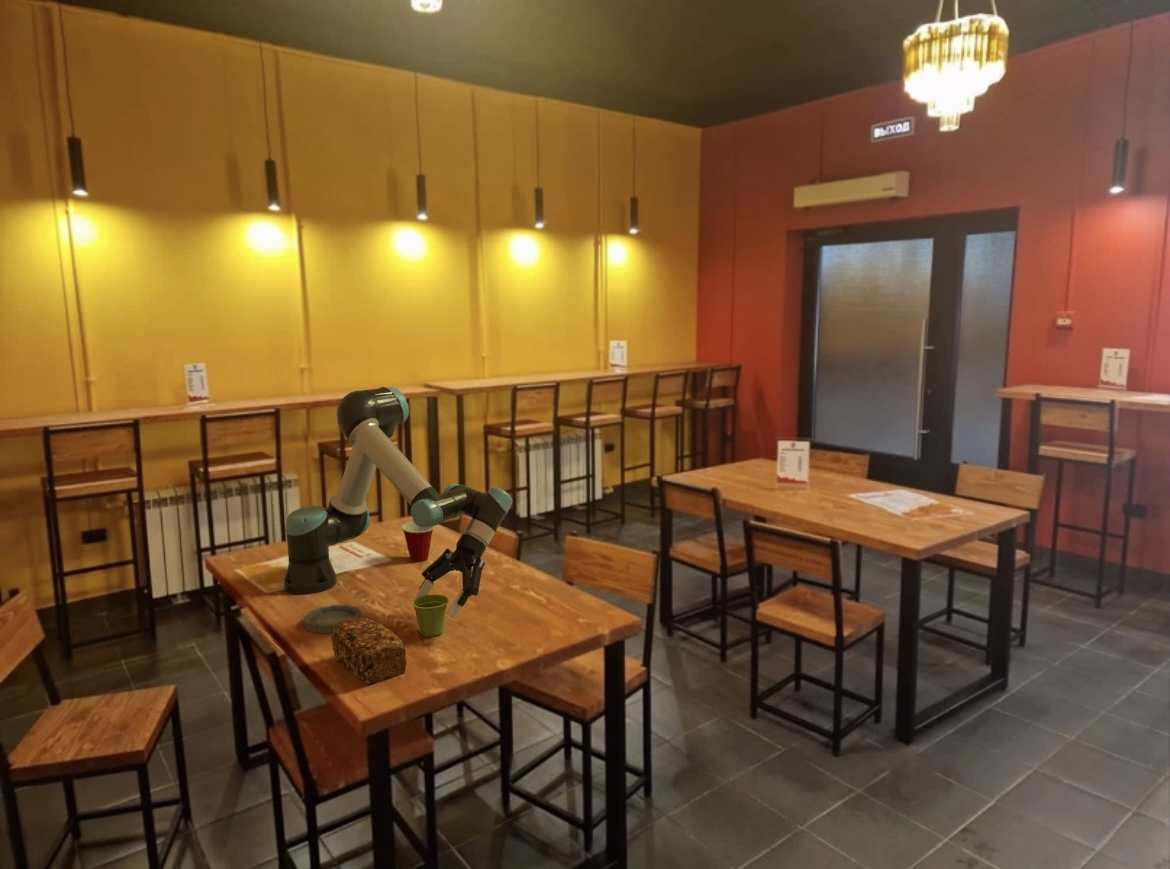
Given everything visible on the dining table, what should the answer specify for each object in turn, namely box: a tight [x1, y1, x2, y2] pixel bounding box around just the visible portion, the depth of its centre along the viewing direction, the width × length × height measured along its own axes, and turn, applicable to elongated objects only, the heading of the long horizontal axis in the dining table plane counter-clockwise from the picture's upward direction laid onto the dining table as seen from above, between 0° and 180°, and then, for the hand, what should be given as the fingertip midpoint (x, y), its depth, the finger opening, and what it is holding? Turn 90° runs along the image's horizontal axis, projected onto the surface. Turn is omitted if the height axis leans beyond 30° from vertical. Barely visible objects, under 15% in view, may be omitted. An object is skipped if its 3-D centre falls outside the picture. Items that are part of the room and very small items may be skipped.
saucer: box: [303, 604, 363, 634], centre depth 211 cm, size 14×14×2 cm
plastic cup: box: [401, 520, 435, 563], centre depth 262 cm, size 11×11×12 cm
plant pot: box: [411, 594, 449, 638], centre depth 204 cm, size 9×9×9 cm
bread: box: [330, 617, 407, 685], centre depth 185 cm, size 19×11×10 cm, turn 41°
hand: (433, 609), depth 203 cm, fingers open, 13 cm apart
